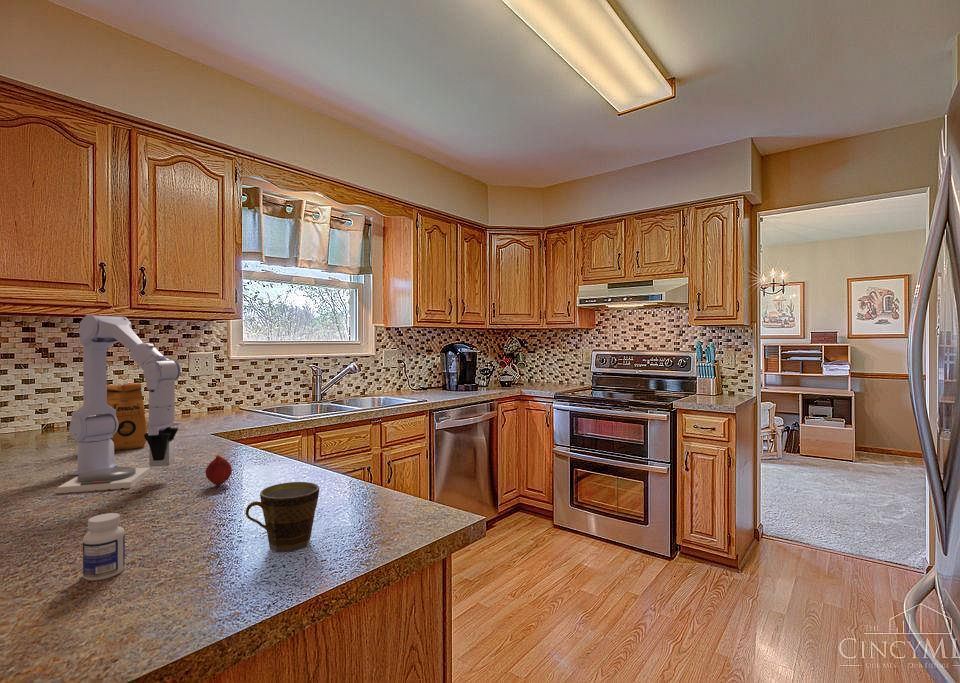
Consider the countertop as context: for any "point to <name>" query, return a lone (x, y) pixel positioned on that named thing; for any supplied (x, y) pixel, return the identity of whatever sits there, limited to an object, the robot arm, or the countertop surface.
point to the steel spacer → (167, 458)
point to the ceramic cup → (288, 514)
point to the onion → (218, 470)
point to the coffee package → (128, 415)
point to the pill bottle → (103, 547)
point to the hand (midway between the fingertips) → (161, 458)
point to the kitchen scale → (105, 479)
